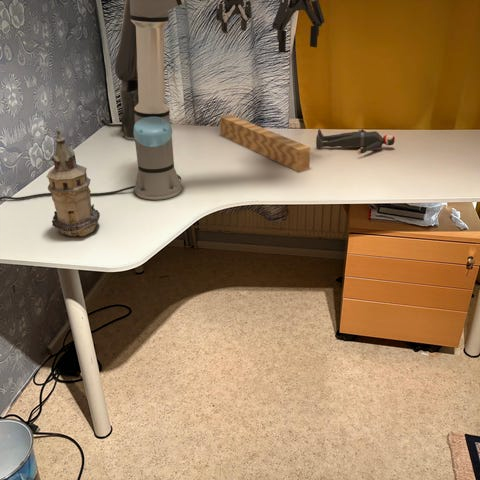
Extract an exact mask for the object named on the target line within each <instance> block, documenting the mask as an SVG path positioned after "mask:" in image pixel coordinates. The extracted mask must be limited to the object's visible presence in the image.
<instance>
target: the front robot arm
mask: <svg viewBox="0 0 480 480" xmlns="http://www.w3.org/2000/svg"><path fill="white" fill-rule="evenodd" d="M279 1H280V2H279V5H278V7H277V11H276V14H275V17H274V20H273V22H272V25H271V28H272V29H274V30H276V32H277V35H276V36H277V37H276V40H277V41H278V52H280V53H286V51H287V50H286V49H287V47H286V46H287V30H285V29H286V27H287V26H288V24H289V22H290V20H291V19H292V17H293V15H294V13H297V12H298V11H304V12H305V13H306V15H307V17H308V19H309V20H310V22H311V24H312V25H310V35H309V37H310V38H309V48H310V47H311V48H318V38H319V36H320V27H322V25H323V24H325V17H324V15H323V10H322V6H321V4H320V1H319V0H279ZM184 3H185V0H130V15H131V21H132V22H133V23H134V24H135V26H136V42H137V69H138V96H139V103H138V104H137V105H136V106H135V107H134V112H135V125H134V137H135V140H134V143H135V154H136V161H137V175H136V179H135V184H134V185H132V186H127V187H124V188H120V189H118V190H113V191H106V192H90V196H105V195H106V196H107V195H112V194H117V193H121V192H124V191H125V192H126V191H128V190H132V189H134V193H135V195H136V196H137V197H138V198H141V199H143V200H148V201H161V200H168V199H171V198H174V197H176V196H178V195H179V194H180V193H181V192H182V183H181V181H182V177H181V176H180V175H179V174H178V173H177V171H176V169H175V161H174V160H175V159H174V158H175V157H174V147H173V130H172V129H173V128H172V125H171V123H170V121H171V120H170V118H171V117H170V114H171V113H170V112H171V111H170V107H169V106H168V105H167V103H166V91H165V90H166V89H165V88H166V87H165V86H166V85H165V84H166V82H165V81H166V80H165V79H166V78H165V77H166V76H165V26H166V25H167V24H168V23H169V21H170V18H169V17H170V15H169V14H170V13H169V11H171V10H173V9H175V8H177V7H180V6H181V5H184ZM43 196H44V197H45V196H52V193H51V192H44V193H37V194H36V193H35V194H31V195H26V196H25V195H24V196H17V197H15V196H8V195H7V196H6V195H4V196H0V201H1V200H4V199H6V200H15V201H17V200H18V201H19V200H25V199H30V198H37V197H43ZM11 287H12V291H13V293H14V294H15V293H16V292H17V290H16V287H15V284H11Z"/></svg>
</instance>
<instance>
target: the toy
mask: <svg viewBox="0 0 480 480" xmlns="http://www.w3.org/2000/svg"><path fill="white" fill-rule="evenodd" d="M395 139H396V137H395V136H394V135H392V134H385V135H384V136H382V135H381V134H380V133H379V132H378V131H375V130H374V131H373V130H372V131H366V130H364V129H363V128H358V130H357V131H351V132H343V133H337V134H330V135H324V134H323V133H322V130H321V129H320V128H318V129H317V134H316V139H315V141H316V142H315V144H316V145H315V146H316V148H317V149H321V148H325V147H326V148H336V147H340V148H354V149H355V148H359V147H360V148H359V149H357V151H356V153H357V154H358V155H361V154H364V153H366V152H368V151H372V150H381V149H382V146H383V145H385V146H392V145H394V143H395V142H396V141H395Z"/></svg>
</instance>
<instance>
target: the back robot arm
mask: <svg viewBox="0 0 480 480" xmlns="http://www.w3.org/2000/svg"><path fill="white" fill-rule="evenodd" d="M243 8H244V9H243ZM215 9H216V10H215V11H216V14H215V17H216V18H215V19H216V21H217V22H220V24H221V25H220V26H221V29H220V30H221V32H222V33H223V34H227V33H228V20H229V18H230V17H231V16H234V15H238V16H239V19H240V30H241V31H243V32H246V30H247V28H248V22H247V21H248V19H251V18H252V5H251V1H250V0H223V3H222V2H217V3H216V8H215ZM113 68H114V73H115V76H116V78H118V80H120V81H121V85H120V88H119V97H120V105H121V112H122V113H121V114H120V119H121V123H108V122H107V121H106V120H105V119H104V118H103V119H101V121H100V122H101V123H104V124H105V125H106V126H108V127H121V131H122V135H123V138H125V139H127V140H131V141H135V137H134V125H135V112H134V107H135V106H136V105H137V104H138V103H139V96H138V69H137V42H136V26H135V24H134V23H133V22H132V21H131V15H130V0H125V2H124V8H123V16H122V24H121V32H120V40H119V45H118V50H117V53H116V57H115V62H114V67H113Z"/></svg>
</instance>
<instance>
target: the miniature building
mask: <svg viewBox="0 0 480 480" xmlns="http://www.w3.org/2000/svg"><path fill="white" fill-rule="evenodd" d="M56 134H57V136H56V138H55V140H54V141H55V142H56V147H55V154H54V156H52V157H51V161H52V162H53V165H54V167H53V168H51V169H50V170H49V171H48V173H47V174H46V178H47V179H48V182H49V184H48V186H47V190H48V191H49V193H52V195H51V200H52V201H53V205H54V209H55V211H53V217H52V220H51V223H52V225H51V227H54V228H56V229H58V230H59V231H60V234H63V235H64V234H65V235H66V236H69V237H77V236H80V237H83V236H87V235H88V234H90V233H93V232H94V231H95V229H96V226H97V225H98V223H99V220H100V216H101V213H100V212H99V210H98V209H96V208H95V204H92V201H91V200H92V199H91V198H92V197H91V195H90V193H92V191H91V188H90V184H91V178H89V177H88V174H87V167H85V166H84V165H83V166H82V165H80V164H77V160H76V154H75V151H74V150H70V149H69V147H68V145H67V143H66V138H65V137H64V136H63V135H61V130H60V129H56Z"/></svg>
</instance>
